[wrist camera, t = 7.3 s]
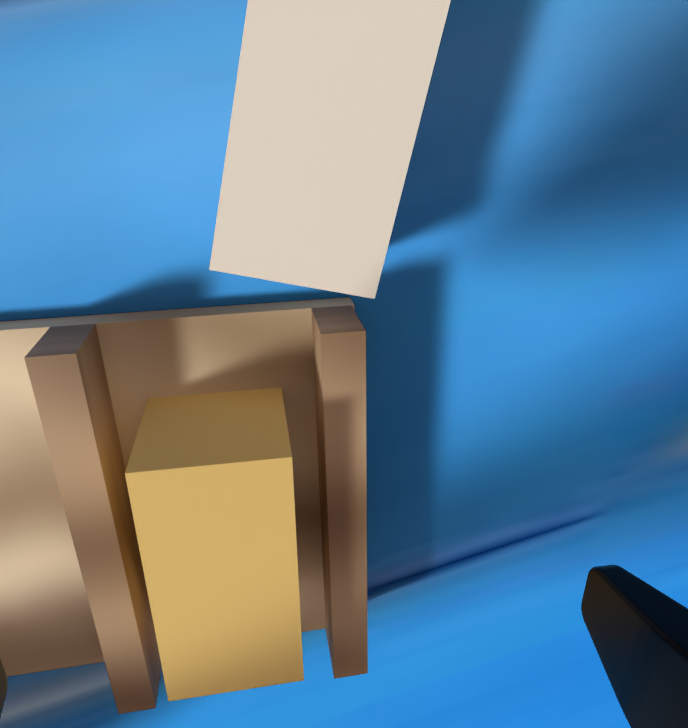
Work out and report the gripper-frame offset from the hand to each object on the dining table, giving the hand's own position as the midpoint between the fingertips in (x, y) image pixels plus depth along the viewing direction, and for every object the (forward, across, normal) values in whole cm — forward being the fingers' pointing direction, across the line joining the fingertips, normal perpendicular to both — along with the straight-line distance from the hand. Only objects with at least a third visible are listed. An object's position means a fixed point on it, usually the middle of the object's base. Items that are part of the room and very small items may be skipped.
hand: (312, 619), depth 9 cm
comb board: (+10, +6, +5) cm, 13 cm away
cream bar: (+11, -1, -7) cm, 13 cm away
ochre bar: (+10, +2, +5) cm, 11 cm away
